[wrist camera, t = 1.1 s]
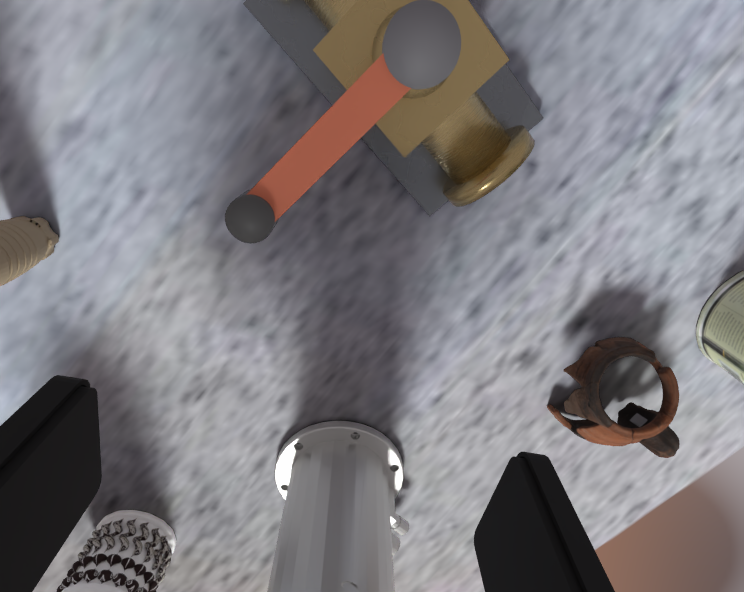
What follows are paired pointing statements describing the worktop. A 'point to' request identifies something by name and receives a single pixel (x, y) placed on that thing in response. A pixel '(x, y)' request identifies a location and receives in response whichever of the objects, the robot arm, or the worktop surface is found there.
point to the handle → (23, 245)
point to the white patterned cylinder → (123, 555)
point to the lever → (353, 114)
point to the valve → (416, 95)
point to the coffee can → (724, 327)
